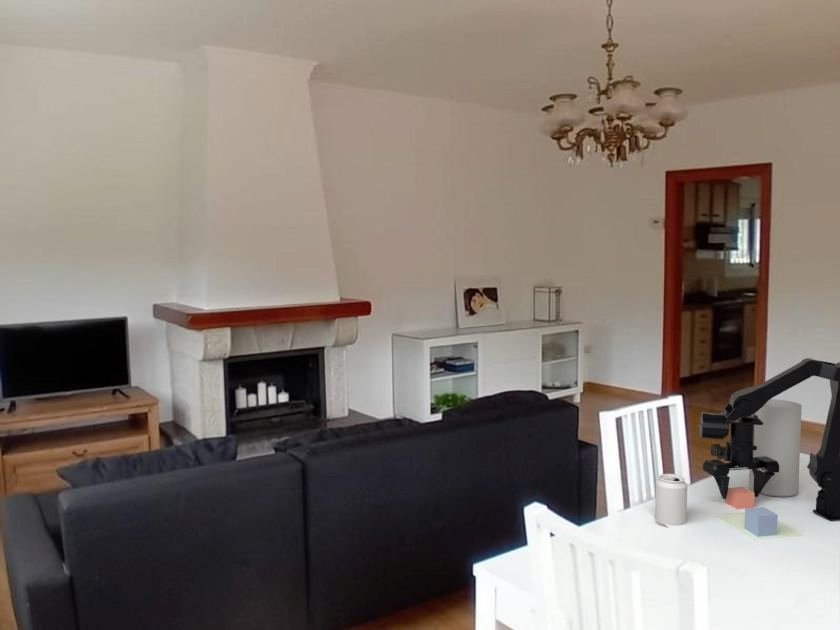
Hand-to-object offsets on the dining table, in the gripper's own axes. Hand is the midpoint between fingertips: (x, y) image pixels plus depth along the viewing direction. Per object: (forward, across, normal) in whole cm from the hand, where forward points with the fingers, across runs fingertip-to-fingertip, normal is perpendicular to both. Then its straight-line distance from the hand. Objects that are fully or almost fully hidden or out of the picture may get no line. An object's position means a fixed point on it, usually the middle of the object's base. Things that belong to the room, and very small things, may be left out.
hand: (739, 497), depth 184 cm
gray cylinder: (+3, -18, -11) cm, 21 cm away
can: (+3, +23, +6) cm, 24 cm away
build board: (+3, +4, +13) cm, 14 cm away
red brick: (+3, 0, 0) cm, 3 cm away
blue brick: (+2, +6, +17) cm, 18 cm away
